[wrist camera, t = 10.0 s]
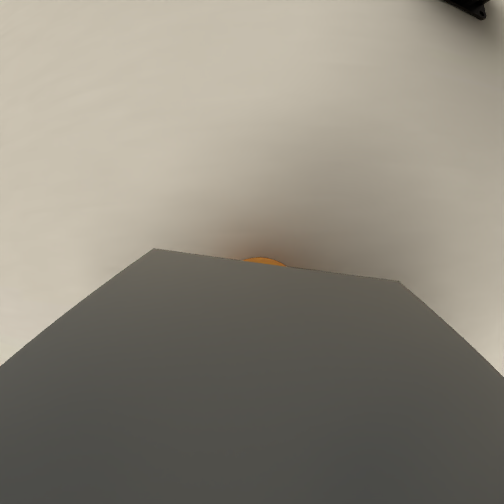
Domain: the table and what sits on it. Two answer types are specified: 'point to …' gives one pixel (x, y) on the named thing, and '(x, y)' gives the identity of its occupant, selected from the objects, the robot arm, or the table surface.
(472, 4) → the robot arm
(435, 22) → the table surface
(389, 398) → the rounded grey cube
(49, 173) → the table surface
